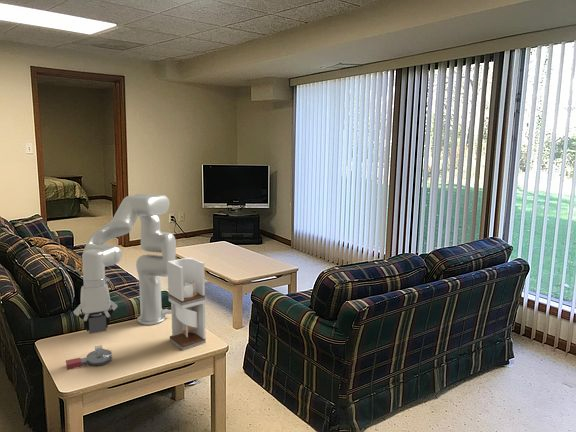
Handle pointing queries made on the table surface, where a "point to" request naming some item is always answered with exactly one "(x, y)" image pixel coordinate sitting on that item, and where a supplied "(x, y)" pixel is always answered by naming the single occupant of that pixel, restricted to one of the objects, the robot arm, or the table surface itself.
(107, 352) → the ratchet
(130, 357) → the table surface
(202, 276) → the two-tier white tower
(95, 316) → the socket
